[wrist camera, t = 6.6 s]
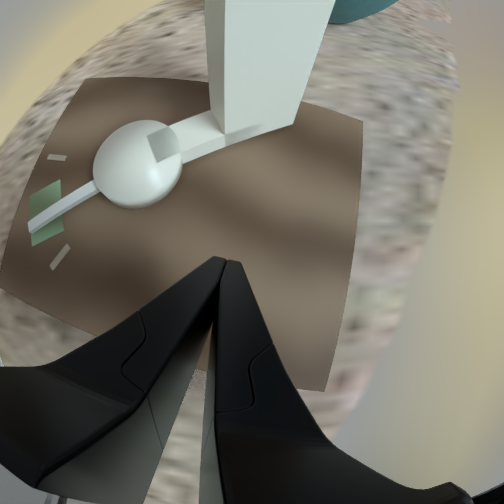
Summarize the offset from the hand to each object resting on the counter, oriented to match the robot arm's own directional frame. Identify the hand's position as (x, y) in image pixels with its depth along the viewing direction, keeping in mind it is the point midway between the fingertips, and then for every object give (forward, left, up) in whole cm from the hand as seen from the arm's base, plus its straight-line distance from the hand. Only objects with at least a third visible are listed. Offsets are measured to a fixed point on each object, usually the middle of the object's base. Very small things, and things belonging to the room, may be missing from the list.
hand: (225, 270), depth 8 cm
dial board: (+4, +5, -6) cm, 9 cm away
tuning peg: (+5, +6, -5) cm, 9 cm away
